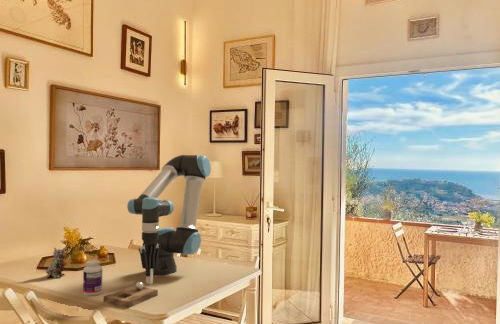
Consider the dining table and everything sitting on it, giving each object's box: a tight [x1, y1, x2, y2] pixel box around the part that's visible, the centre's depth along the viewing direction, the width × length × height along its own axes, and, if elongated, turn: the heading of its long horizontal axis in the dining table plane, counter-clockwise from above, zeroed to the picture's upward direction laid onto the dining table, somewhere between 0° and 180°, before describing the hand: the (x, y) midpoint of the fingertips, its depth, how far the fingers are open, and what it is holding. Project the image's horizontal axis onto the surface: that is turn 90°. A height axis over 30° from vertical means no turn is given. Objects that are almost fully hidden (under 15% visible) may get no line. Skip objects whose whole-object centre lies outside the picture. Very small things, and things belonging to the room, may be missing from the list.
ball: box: [135, 281, 144, 290], centre depth 184 cm, size 4×4×4 cm
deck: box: [103, 284, 159, 309], centre depth 180 cm, size 14×18×2 cm
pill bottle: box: [82, 259, 103, 296], centre depth 186 cm, size 8×8×14 cm
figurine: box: [45, 247, 67, 280], centre depth 212 cm, size 9×9×15 cm
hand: (149, 282), depth 190 cm, fingers closed
